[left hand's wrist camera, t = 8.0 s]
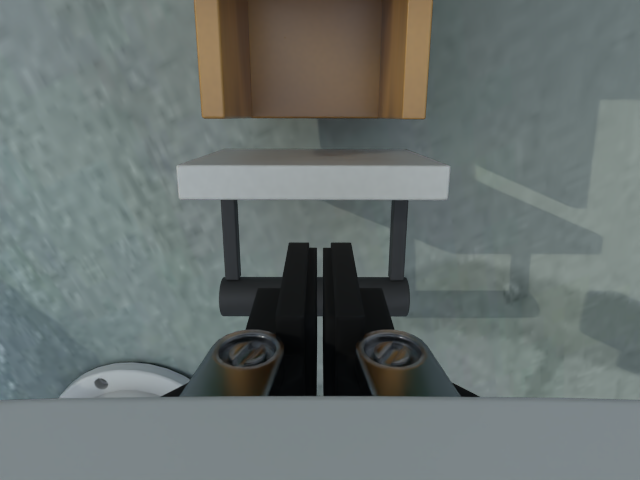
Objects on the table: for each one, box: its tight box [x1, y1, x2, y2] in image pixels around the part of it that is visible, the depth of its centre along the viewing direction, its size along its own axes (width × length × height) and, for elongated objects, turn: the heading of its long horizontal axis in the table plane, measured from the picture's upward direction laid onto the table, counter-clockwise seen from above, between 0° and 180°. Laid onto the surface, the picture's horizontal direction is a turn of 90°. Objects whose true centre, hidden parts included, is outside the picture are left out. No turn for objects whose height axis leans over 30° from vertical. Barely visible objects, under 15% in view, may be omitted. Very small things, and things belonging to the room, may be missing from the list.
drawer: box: [176, 0, 451, 316], centre depth 18 cm, size 20×9×8 cm, turn 0°
